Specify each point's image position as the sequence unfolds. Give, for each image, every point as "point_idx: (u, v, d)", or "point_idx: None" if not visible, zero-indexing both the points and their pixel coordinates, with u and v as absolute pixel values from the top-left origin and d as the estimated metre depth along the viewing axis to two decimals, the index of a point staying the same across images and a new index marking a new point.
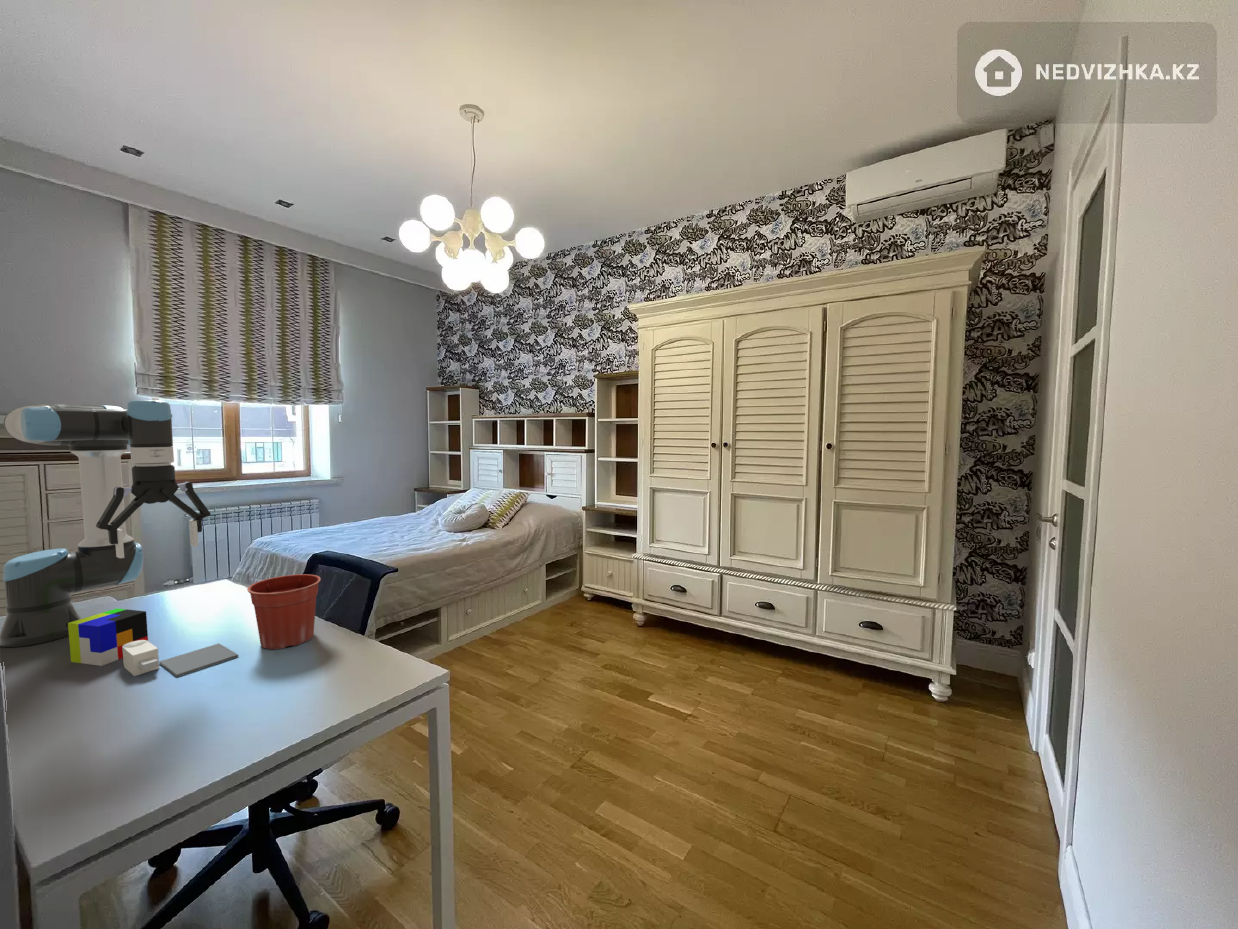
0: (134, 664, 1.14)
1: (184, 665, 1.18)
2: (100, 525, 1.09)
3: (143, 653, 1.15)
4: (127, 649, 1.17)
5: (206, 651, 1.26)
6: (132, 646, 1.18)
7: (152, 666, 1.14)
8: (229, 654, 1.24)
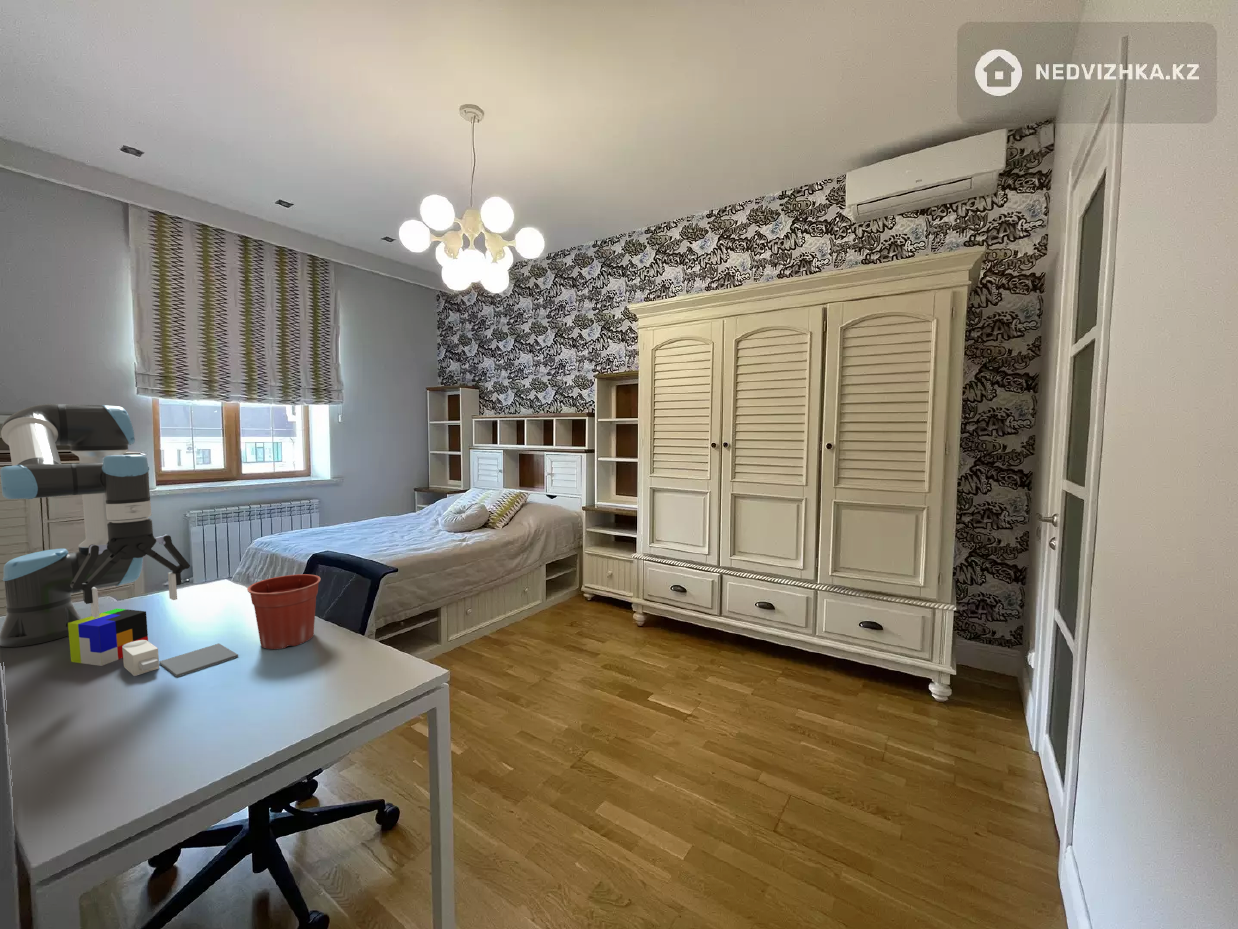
0: (134, 664, 1.14)
1: (184, 665, 1.18)
2: (74, 585, 1.07)
3: (143, 653, 1.15)
4: (127, 649, 1.17)
5: (206, 651, 1.26)
6: (132, 646, 1.18)
7: (152, 666, 1.14)
8: (229, 654, 1.24)
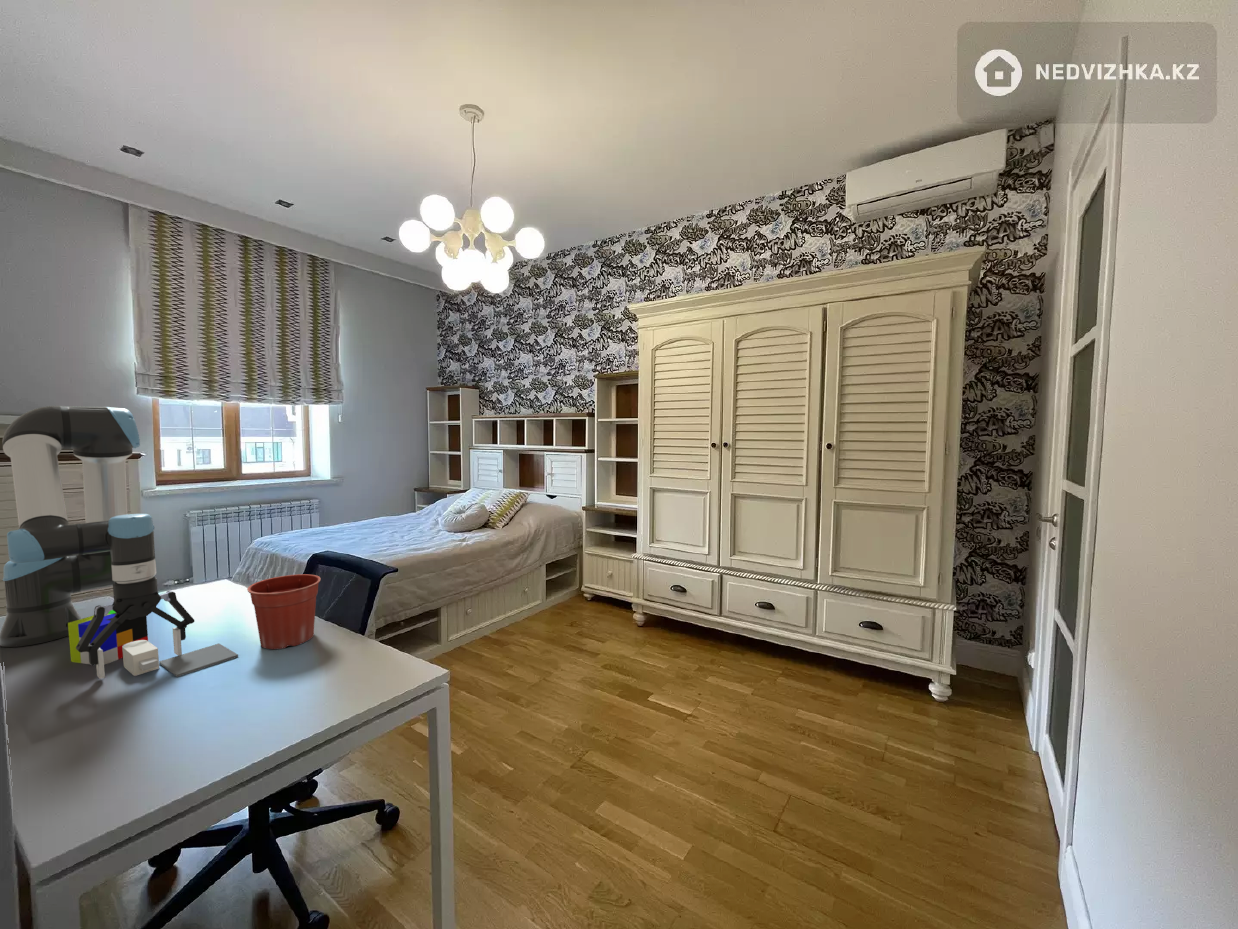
0: (134, 664, 1.14)
1: (184, 665, 1.18)
2: (80, 648, 1.08)
3: (143, 653, 1.15)
4: (127, 649, 1.17)
5: (206, 651, 1.26)
6: (132, 646, 1.18)
7: (152, 666, 1.14)
8: (229, 654, 1.24)
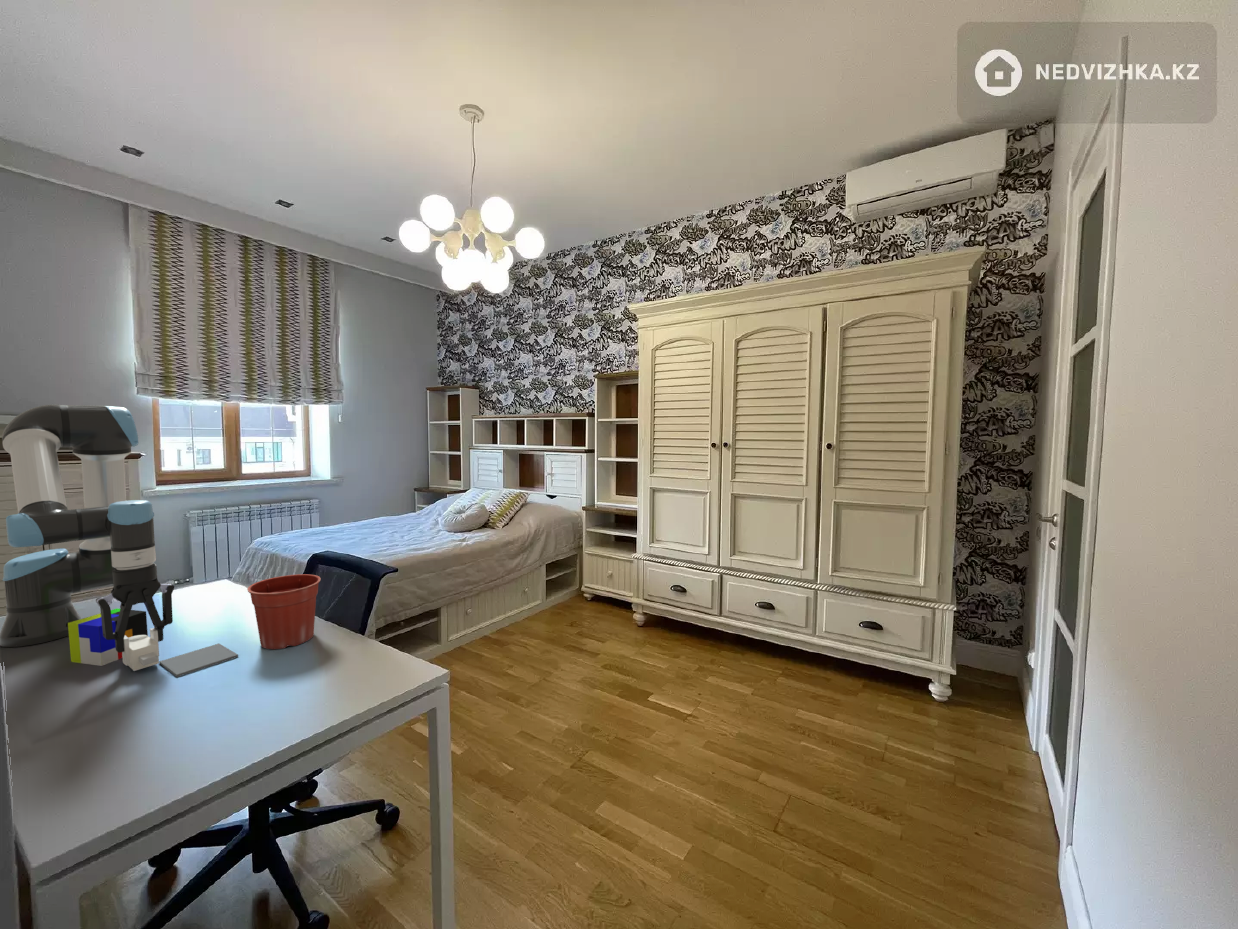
0: (134, 659, 1.14)
1: (184, 665, 1.18)
2: (107, 637, 1.12)
3: (143, 648, 1.15)
4: None
5: (206, 651, 1.26)
6: (132, 641, 1.19)
7: (152, 661, 1.14)
8: (229, 654, 1.24)
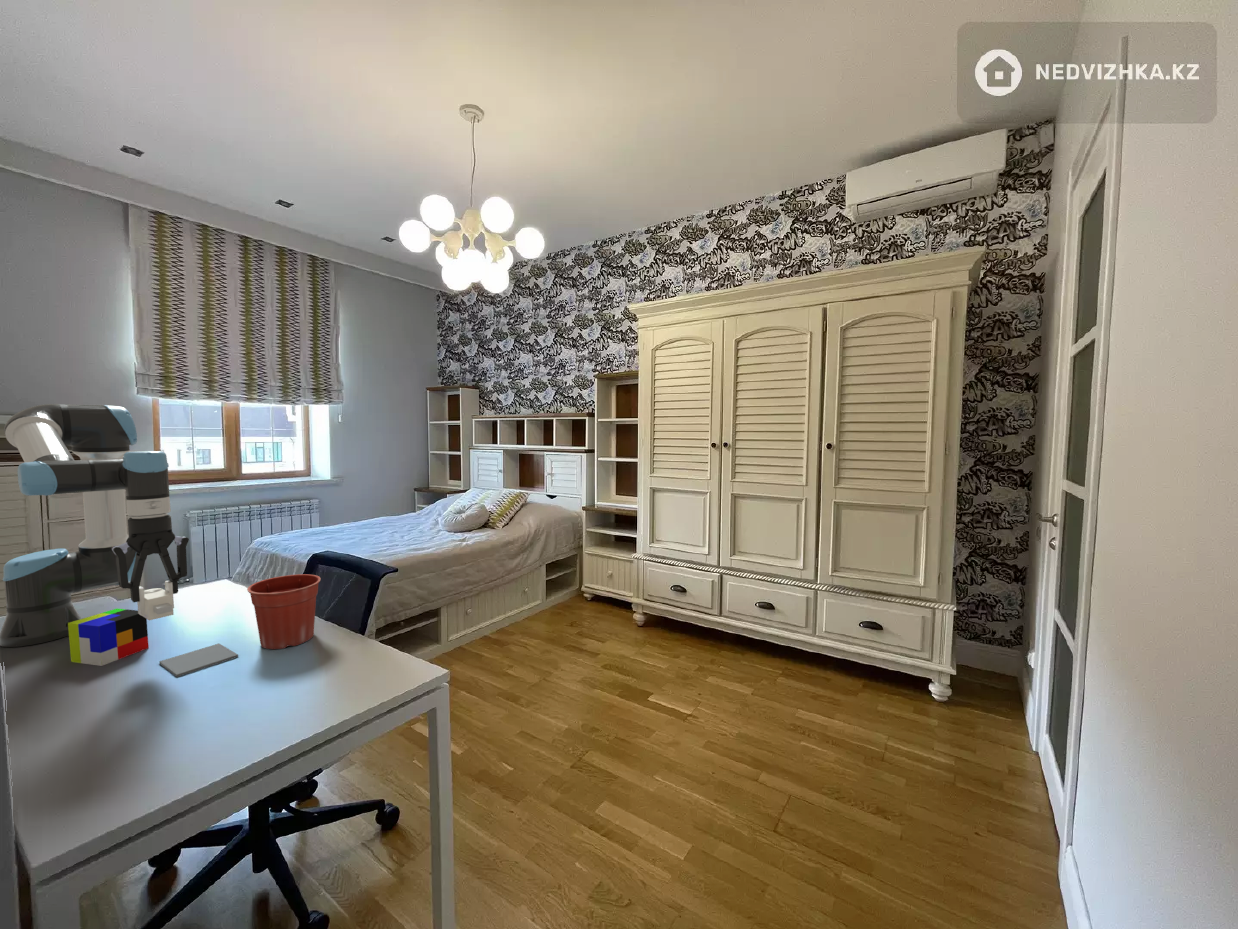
0: (149, 608, 1.14)
1: (184, 665, 1.18)
2: (122, 585, 1.12)
3: (158, 598, 1.15)
4: None
5: (206, 651, 1.26)
6: (147, 593, 1.18)
7: (166, 610, 1.14)
8: (229, 654, 1.24)
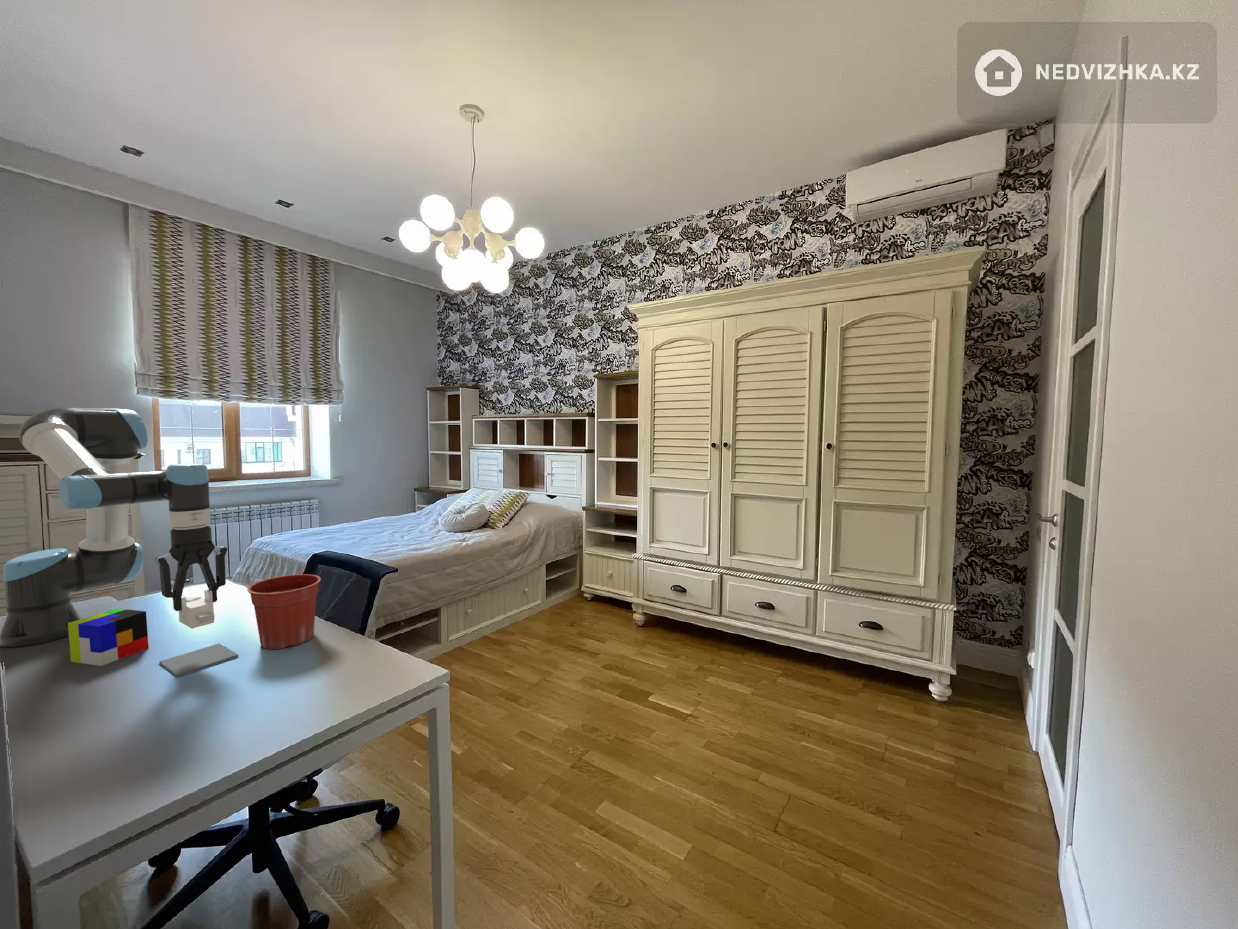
0: (191, 617, 1.17)
1: (184, 665, 1.18)
2: (166, 595, 1.15)
3: (200, 607, 1.18)
4: None
5: (206, 651, 1.26)
6: (188, 601, 1.21)
7: (209, 619, 1.17)
8: (229, 654, 1.24)
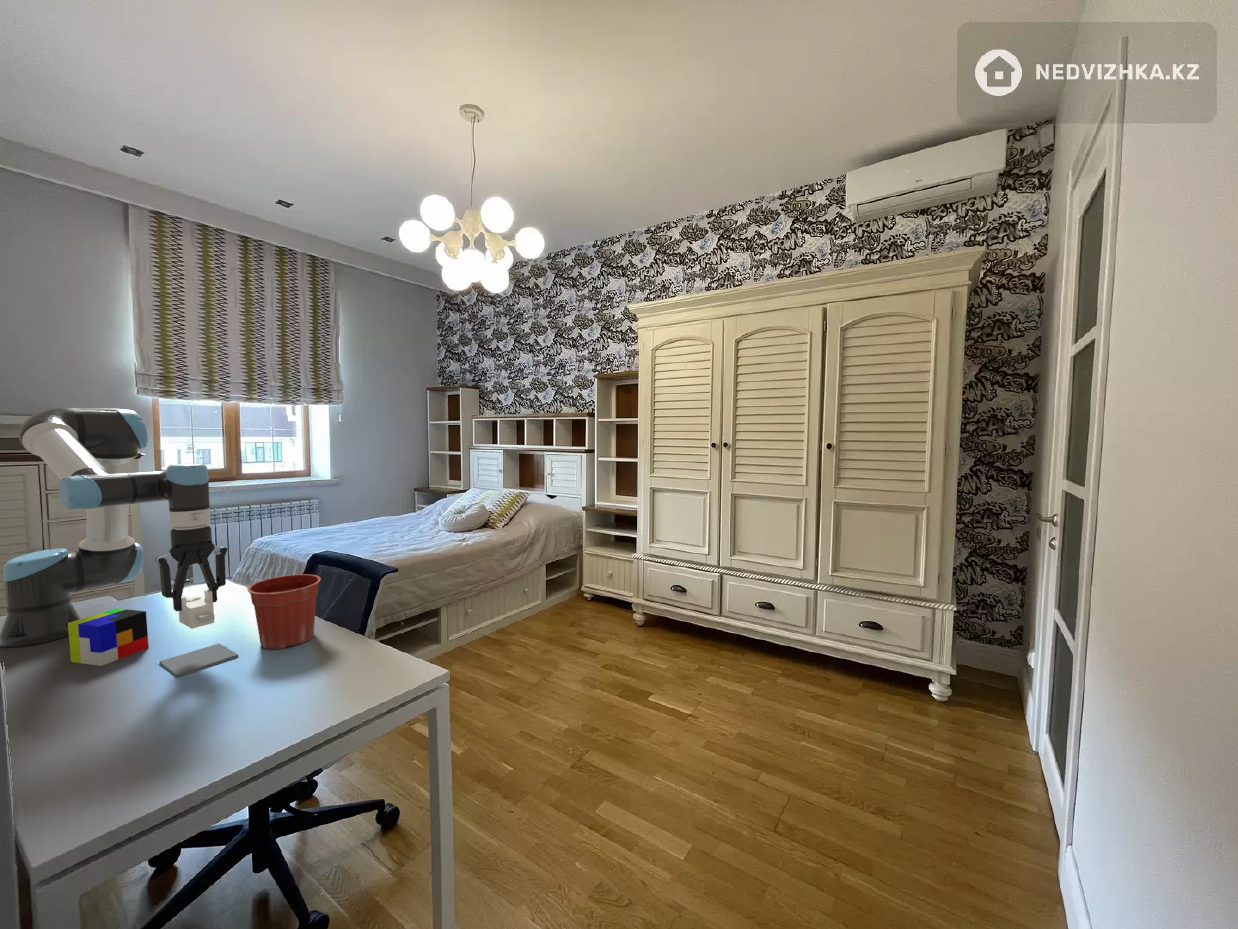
0: (191, 617, 1.17)
1: (184, 665, 1.18)
2: (166, 595, 1.15)
3: (200, 607, 1.18)
4: None
5: (206, 651, 1.26)
6: (188, 601, 1.21)
7: (209, 619, 1.17)
8: (229, 654, 1.24)
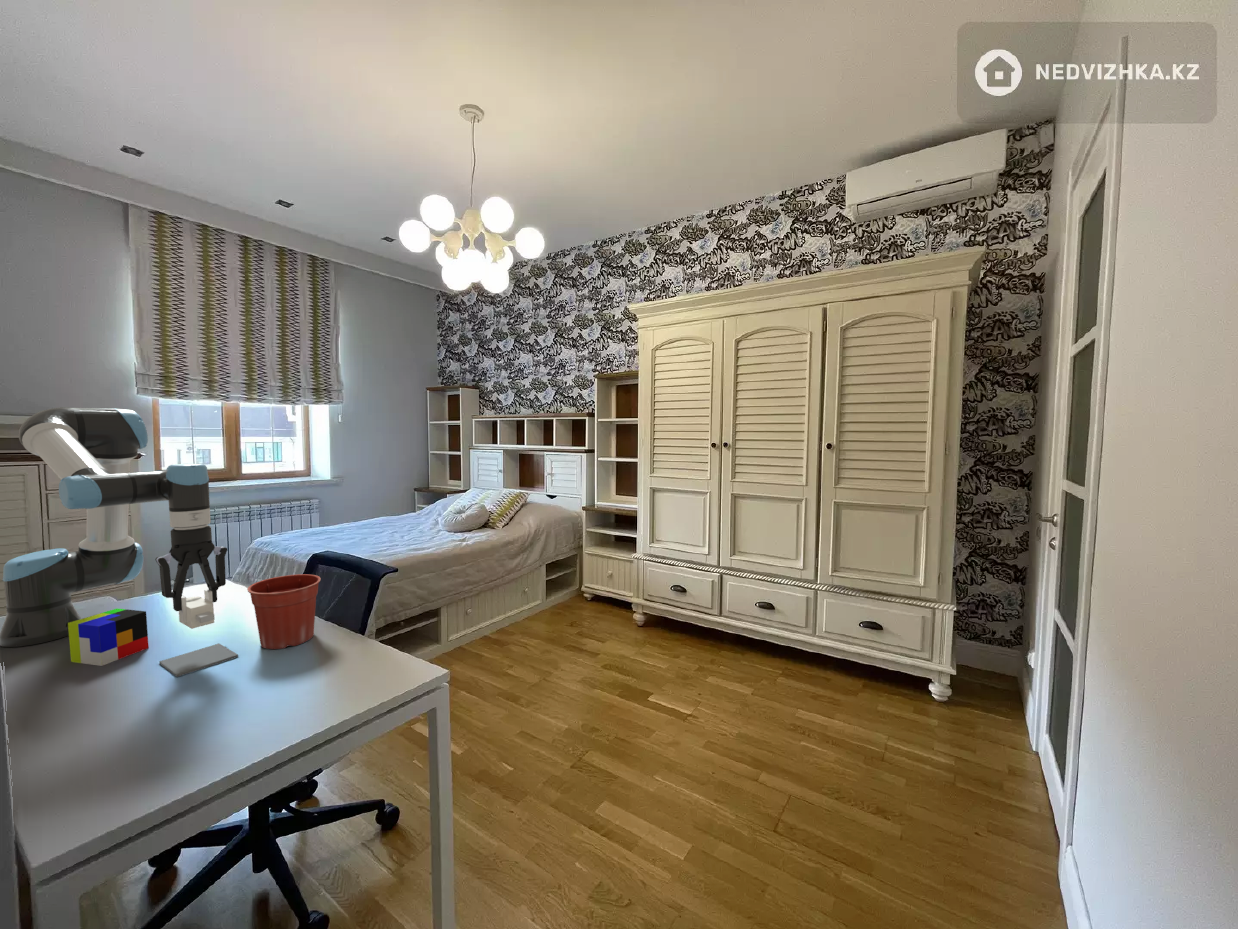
0: (191, 617, 1.17)
1: (184, 665, 1.18)
2: (166, 595, 1.15)
3: (200, 607, 1.18)
4: None
5: (206, 651, 1.26)
6: (188, 601, 1.21)
7: (209, 619, 1.17)
8: (229, 654, 1.24)
